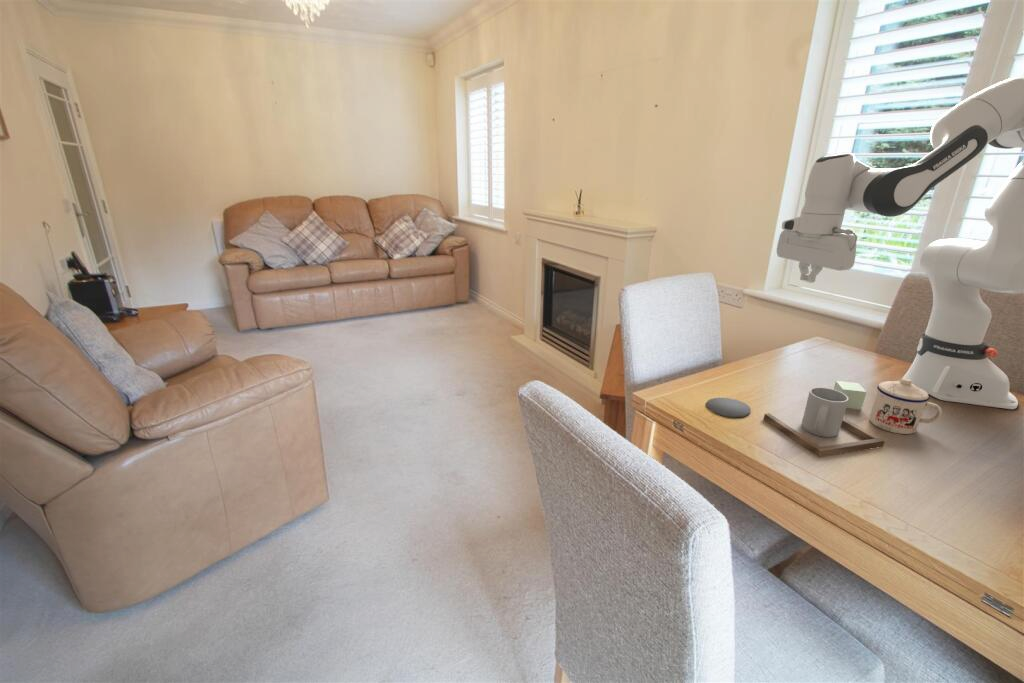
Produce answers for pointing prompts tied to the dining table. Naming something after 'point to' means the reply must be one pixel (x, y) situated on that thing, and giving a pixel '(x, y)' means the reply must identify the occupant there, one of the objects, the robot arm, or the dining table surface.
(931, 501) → the dining table surface
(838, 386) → the sage box
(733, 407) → the slate coaster
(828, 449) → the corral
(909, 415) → the teacup with lid
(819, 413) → the cup
